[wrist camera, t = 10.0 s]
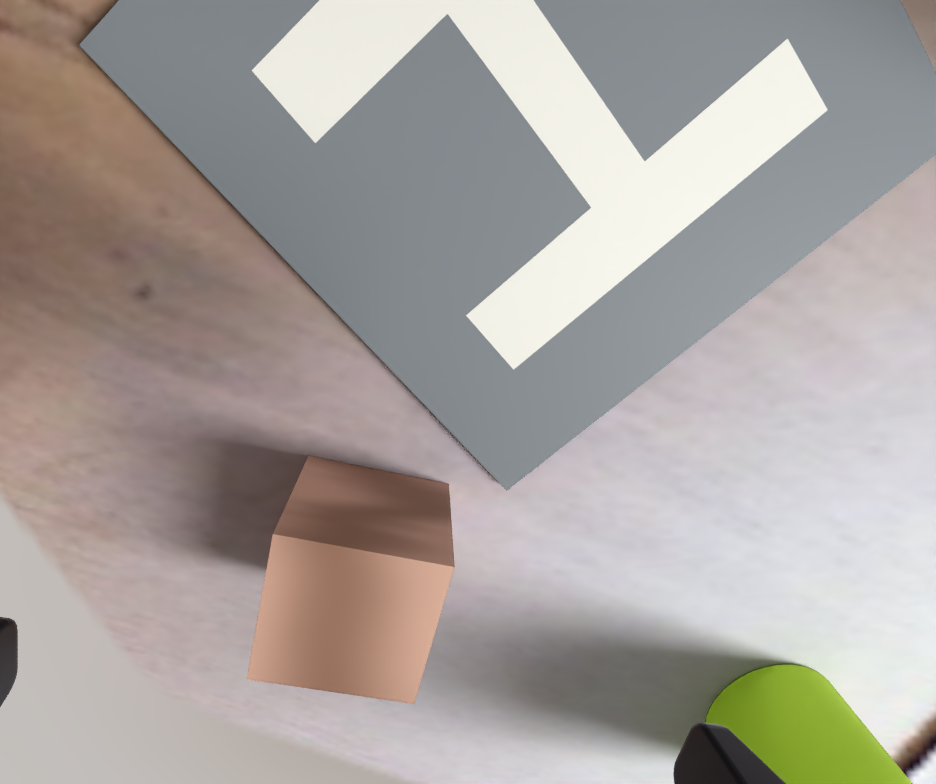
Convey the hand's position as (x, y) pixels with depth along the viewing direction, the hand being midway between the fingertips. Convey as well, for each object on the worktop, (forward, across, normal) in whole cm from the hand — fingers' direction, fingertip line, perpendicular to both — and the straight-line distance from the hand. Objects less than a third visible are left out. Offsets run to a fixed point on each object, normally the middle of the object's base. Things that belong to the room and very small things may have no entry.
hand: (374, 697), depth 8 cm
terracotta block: (+13, 0, +6) cm, 14 cm away
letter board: (+13, -2, -10) cm, 16 cm away
